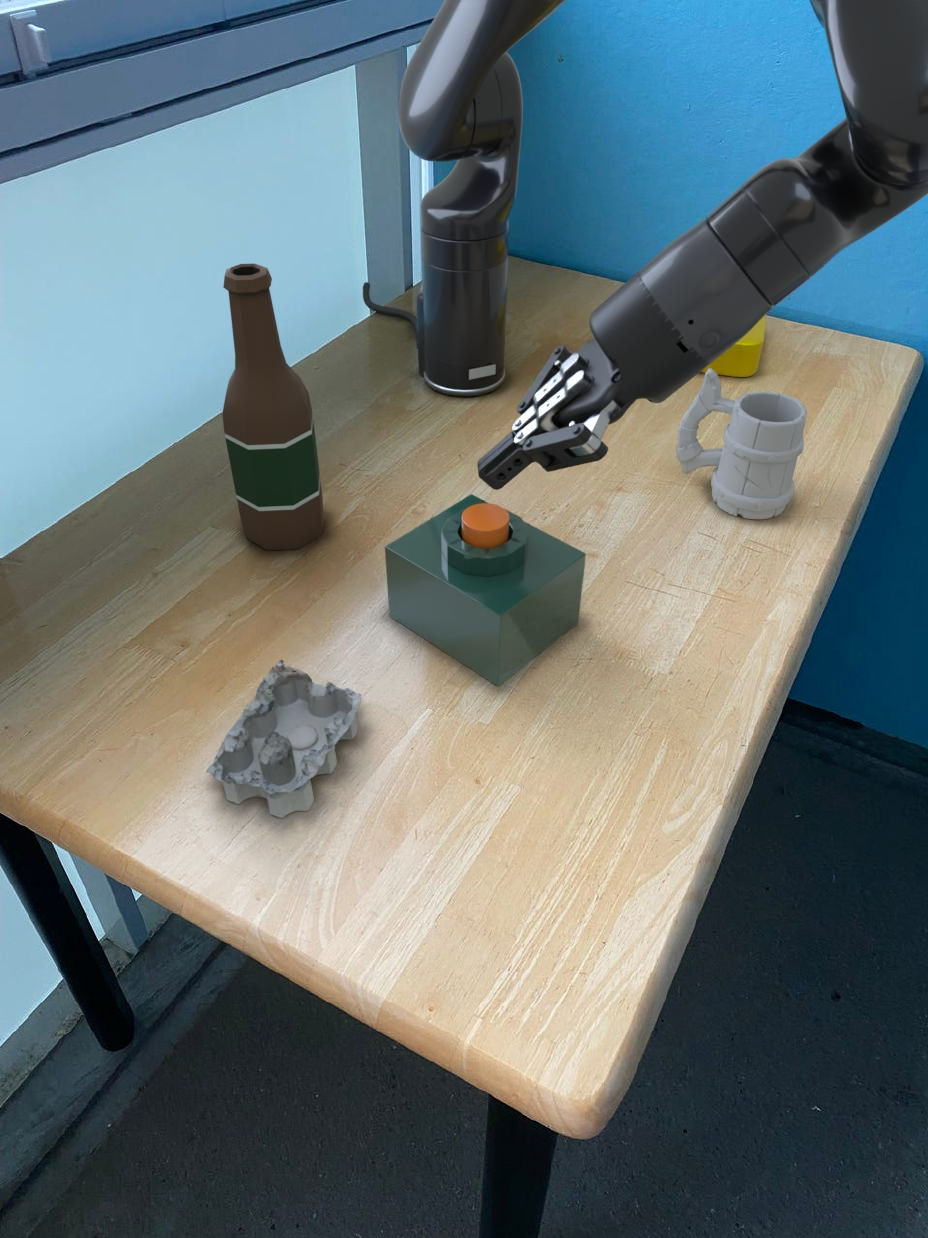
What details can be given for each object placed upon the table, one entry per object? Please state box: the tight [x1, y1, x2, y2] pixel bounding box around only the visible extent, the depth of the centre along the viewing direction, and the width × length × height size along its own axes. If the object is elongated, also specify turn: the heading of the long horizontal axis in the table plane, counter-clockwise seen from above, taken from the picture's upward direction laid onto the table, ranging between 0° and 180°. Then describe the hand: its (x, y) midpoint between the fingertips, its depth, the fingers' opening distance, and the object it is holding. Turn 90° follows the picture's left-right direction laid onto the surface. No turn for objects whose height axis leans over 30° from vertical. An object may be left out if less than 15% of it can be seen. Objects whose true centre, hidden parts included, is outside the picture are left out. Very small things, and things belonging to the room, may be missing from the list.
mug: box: [675, 368, 808, 520], centre depth 87 cm, size 8×12×12 cm, turn 62°
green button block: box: [384, 493, 587, 687], centre depth 74 cm, size 12×10×9 cm
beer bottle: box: [221, 263, 324, 551], centre depth 78 cm, size 8×8×24 cm
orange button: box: [462, 502, 510, 548], centre depth 70 cm, size 4×4×2 cm
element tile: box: [700, 314, 767, 378], centre depth 113 cm, size 15×15×5 cm
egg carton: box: [205, 659, 362, 819], centre depth 64 cm, size 11×8×4 cm
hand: (485, 477), depth 68 cm, fingers closed
